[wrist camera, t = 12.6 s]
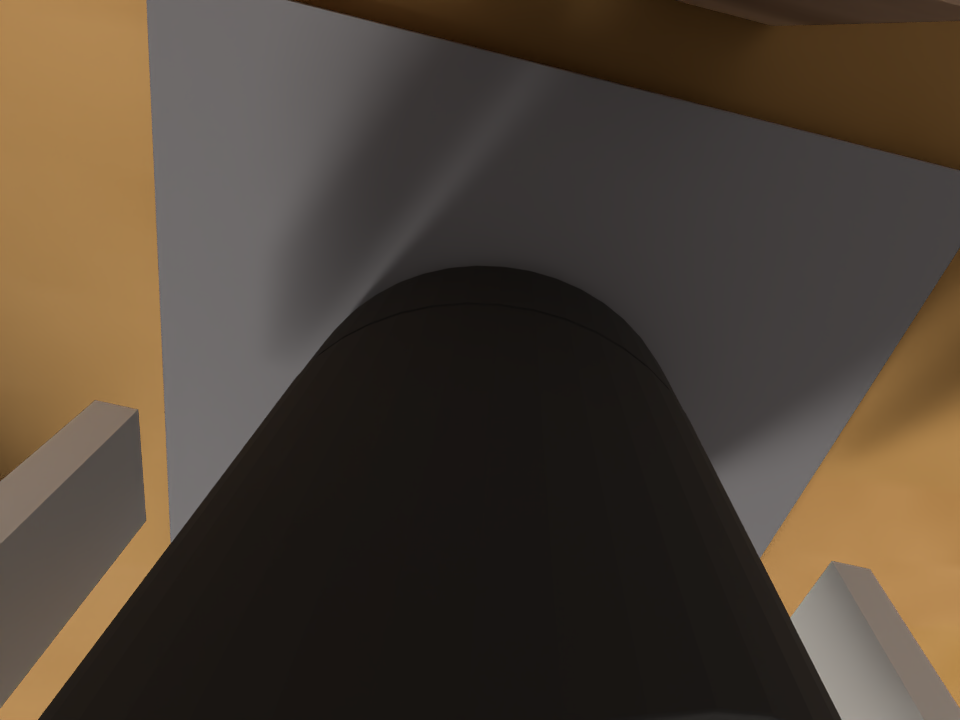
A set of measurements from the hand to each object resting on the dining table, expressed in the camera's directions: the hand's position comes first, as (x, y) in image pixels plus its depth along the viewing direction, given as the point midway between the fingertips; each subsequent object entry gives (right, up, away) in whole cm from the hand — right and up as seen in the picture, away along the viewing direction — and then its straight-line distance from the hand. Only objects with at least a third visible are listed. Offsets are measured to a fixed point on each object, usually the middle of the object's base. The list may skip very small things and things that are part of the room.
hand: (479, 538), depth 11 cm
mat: (0, +2, +4) cm, 4 cm away
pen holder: (0, +2, +3) cm, 4 cm away
